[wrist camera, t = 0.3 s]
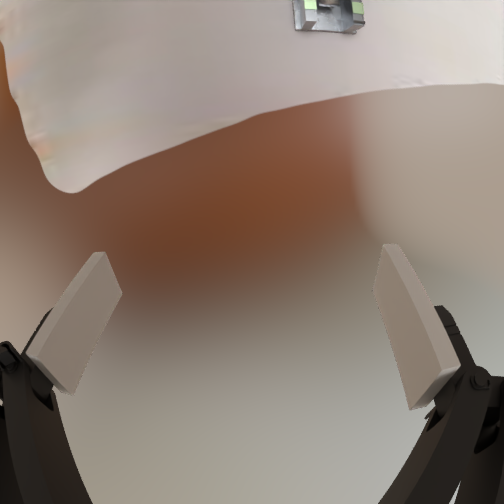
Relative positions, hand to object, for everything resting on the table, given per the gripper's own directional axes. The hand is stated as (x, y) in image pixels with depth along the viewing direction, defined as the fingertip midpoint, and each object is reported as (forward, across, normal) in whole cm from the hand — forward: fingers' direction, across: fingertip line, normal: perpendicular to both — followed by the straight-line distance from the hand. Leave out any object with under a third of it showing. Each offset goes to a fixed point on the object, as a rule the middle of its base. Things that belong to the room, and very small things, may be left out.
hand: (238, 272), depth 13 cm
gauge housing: (+27, +9, +19) cm, 35 cm away
